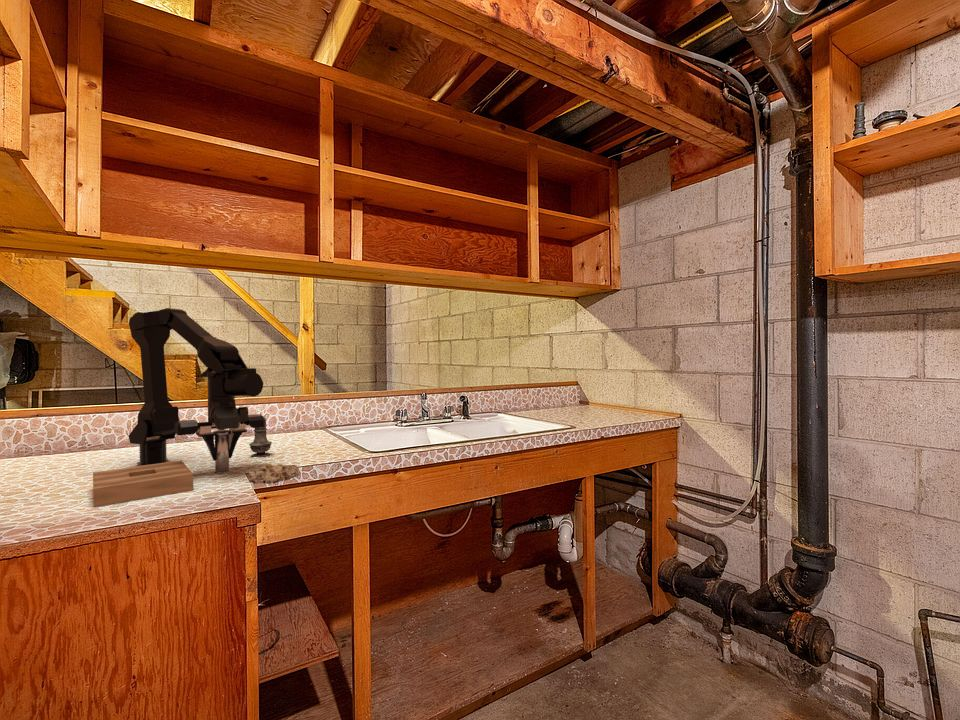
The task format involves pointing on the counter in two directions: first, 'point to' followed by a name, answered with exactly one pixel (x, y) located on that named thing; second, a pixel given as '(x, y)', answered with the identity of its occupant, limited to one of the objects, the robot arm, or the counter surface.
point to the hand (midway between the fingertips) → (222, 459)
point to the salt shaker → (260, 442)
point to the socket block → (140, 482)
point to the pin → (222, 450)
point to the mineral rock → (273, 473)
